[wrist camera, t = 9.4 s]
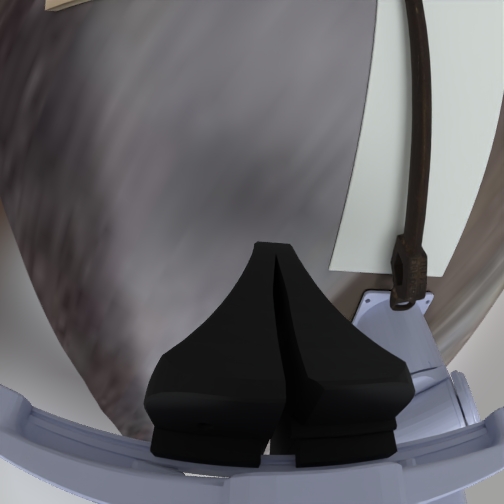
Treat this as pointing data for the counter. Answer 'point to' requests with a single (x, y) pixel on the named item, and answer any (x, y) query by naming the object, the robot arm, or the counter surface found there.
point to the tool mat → (443, 132)
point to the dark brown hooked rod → (415, 171)
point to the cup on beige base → (61, 4)
